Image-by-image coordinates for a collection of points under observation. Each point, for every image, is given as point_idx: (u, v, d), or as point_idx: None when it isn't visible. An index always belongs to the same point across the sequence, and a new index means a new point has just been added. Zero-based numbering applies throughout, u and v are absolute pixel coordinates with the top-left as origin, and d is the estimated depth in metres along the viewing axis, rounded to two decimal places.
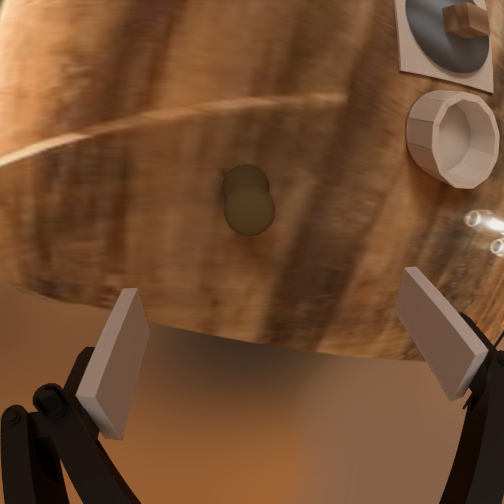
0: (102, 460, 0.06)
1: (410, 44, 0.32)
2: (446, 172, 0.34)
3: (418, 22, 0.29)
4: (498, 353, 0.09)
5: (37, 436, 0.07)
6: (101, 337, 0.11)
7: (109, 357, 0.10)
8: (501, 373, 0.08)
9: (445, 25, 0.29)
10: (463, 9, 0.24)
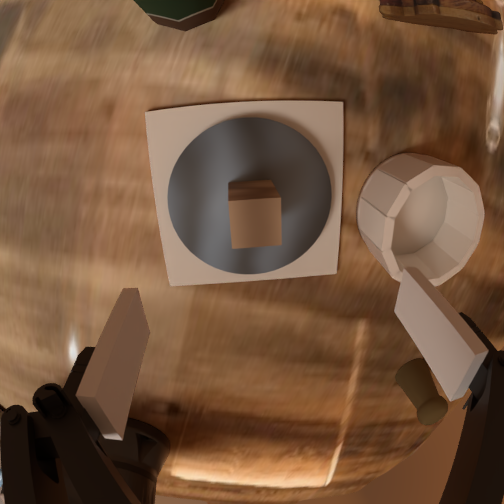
0: (102, 460, 0.06)
1: (301, 263, 0.35)
2: (462, 260, 0.29)
3: (270, 262, 0.33)
4: (498, 353, 0.09)
5: (37, 436, 0.07)
6: (101, 337, 0.11)
7: (109, 357, 0.10)
8: (501, 373, 0.08)
9: None
10: None
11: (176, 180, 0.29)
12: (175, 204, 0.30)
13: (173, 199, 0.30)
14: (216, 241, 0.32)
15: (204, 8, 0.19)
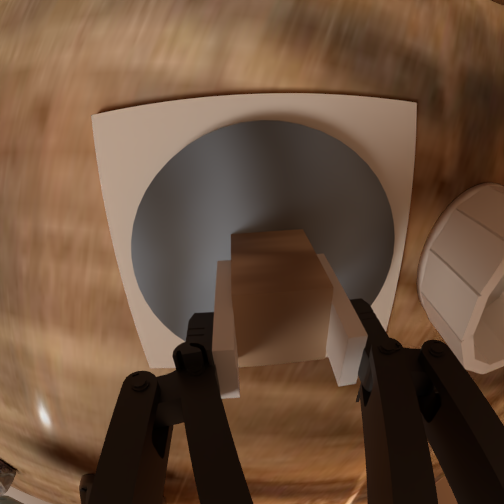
0: (228, 426, 0.08)
1: None
2: None
3: None
4: (377, 342, 0.10)
5: (169, 399, 0.09)
6: (216, 301, 0.13)
7: (233, 316, 0.12)
8: (387, 363, 0.09)
9: None
10: None
11: (143, 230, 0.17)
12: (145, 267, 0.18)
13: (141, 260, 0.18)
14: None
15: None
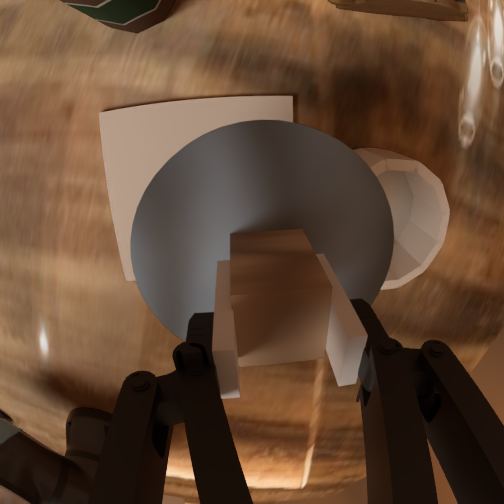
0: (228, 426, 0.08)
1: None
2: (425, 261, 0.29)
3: None
4: (377, 342, 0.10)
5: (169, 399, 0.09)
6: (216, 300, 0.13)
7: (233, 316, 0.12)
8: (386, 363, 0.09)
9: None
10: None
11: (142, 230, 0.17)
12: (144, 267, 0.18)
13: (140, 259, 0.18)
14: None
15: (146, 11, 0.19)
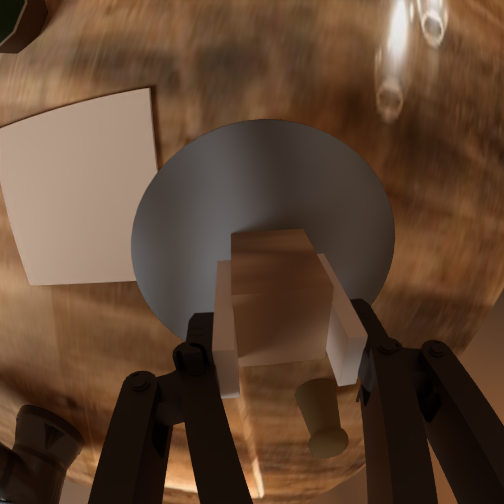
0: (228, 426, 0.08)
1: (131, 266, 0.31)
2: None
3: None
4: (377, 342, 0.10)
5: (169, 399, 0.09)
6: (216, 300, 0.13)
7: (233, 316, 0.12)
8: (386, 363, 0.09)
9: None
10: None
11: (143, 229, 0.17)
12: (144, 266, 0.18)
13: (140, 259, 0.18)
14: None
15: (5, 36, 0.16)
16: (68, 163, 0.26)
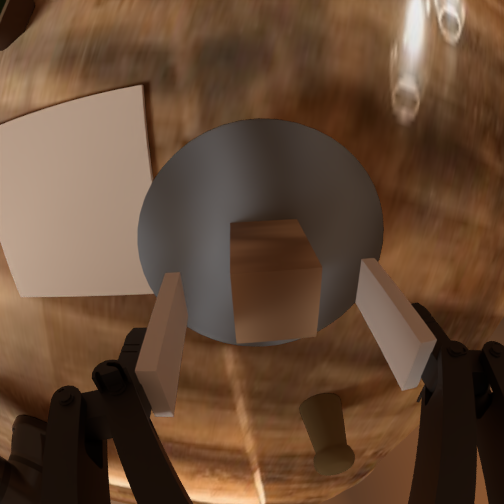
0: (156, 441, 0.07)
1: (125, 279, 0.29)
2: None
3: None
4: (447, 344, 0.10)
5: (92, 415, 0.08)
6: (152, 316, 0.12)
7: (164, 334, 0.11)
8: (453, 364, 0.09)
9: None
10: None
11: (149, 219, 0.18)
12: (150, 254, 0.19)
13: (146, 247, 0.19)
14: (212, 306, 0.21)
15: None
16: (55, 169, 0.23)
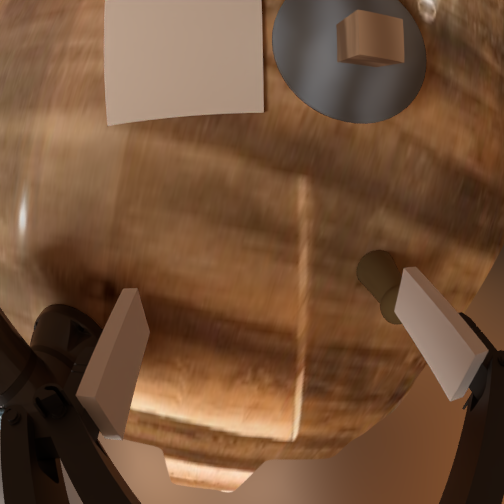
0: (102, 460, 0.06)
1: (226, 98, 0.33)
2: None
3: (372, 112, 0.27)
4: (498, 353, 0.09)
5: (37, 436, 0.07)
6: (101, 337, 0.11)
7: (109, 357, 0.10)
8: (501, 373, 0.08)
9: (367, 65, 0.25)
10: (368, 57, 0.20)
11: (284, 14, 0.23)
12: (281, 35, 0.24)
13: (279, 31, 0.23)
14: (320, 79, 0.26)
15: None
16: (182, 12, 0.28)
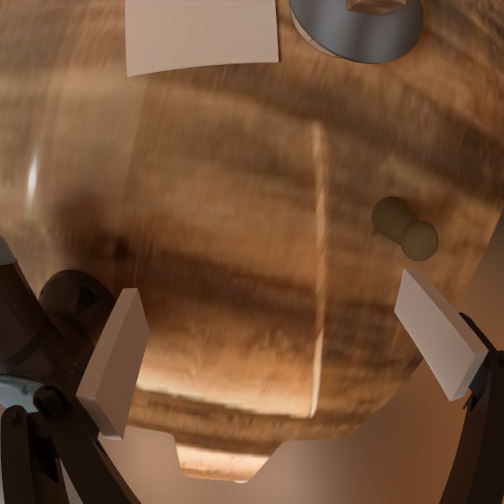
0: (102, 460, 0.06)
1: (243, 49, 0.33)
2: None
3: (380, 53, 0.27)
4: (498, 353, 0.09)
5: (37, 436, 0.07)
6: (101, 337, 0.11)
7: (109, 357, 0.10)
8: (501, 373, 0.08)
9: (372, 13, 0.25)
10: (375, 0, 0.20)
11: None
12: None
13: None
14: (332, 24, 0.26)
15: None
16: None
